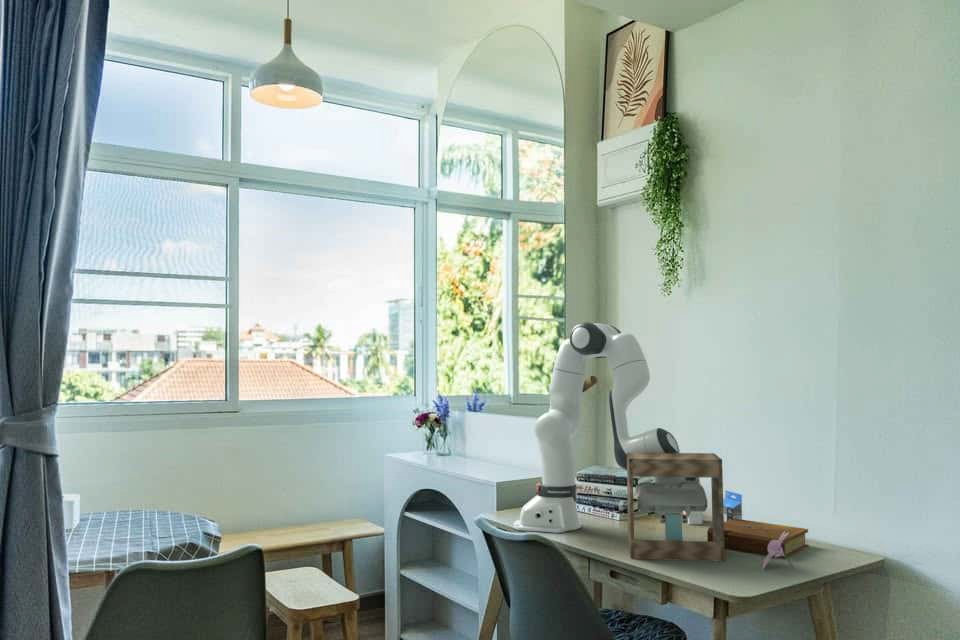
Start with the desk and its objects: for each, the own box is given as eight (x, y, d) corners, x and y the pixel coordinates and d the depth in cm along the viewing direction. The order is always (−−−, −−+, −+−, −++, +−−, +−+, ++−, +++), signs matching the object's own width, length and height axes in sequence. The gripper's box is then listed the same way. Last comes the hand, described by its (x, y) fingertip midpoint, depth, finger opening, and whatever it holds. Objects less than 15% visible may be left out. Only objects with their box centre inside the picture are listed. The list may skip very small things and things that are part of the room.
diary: (707, 548, 229) (707, 528, 229) (734, 536, 243) (734, 518, 243) (784, 560, 213) (783, 539, 214) (808, 547, 227) (808, 528, 227)
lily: (774, 562, 214) (756, 532, 214) (813, 552, 207) (794, 521, 207) (762, 586, 205) (743, 554, 205) (802, 576, 197) (783, 543, 198)
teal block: (667, 553, 220) (666, 515, 221) (665, 550, 224) (665, 512, 225) (682, 554, 220) (681, 515, 220) (681, 550, 223) (680, 512, 224)
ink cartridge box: (681, 519, 266) (681, 476, 267) (696, 519, 266) (695, 476, 267) (688, 524, 258) (687, 480, 258) (702, 524, 258) (701, 480, 258)
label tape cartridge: (716, 528, 252) (715, 490, 252) (726, 527, 253) (725, 490, 254) (733, 534, 243) (732, 495, 244) (743, 533, 245) (742, 494, 245)
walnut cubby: (630, 558, 215) (629, 458, 217) (628, 546, 229) (626, 452, 231) (724, 561, 212) (722, 459, 213) (716, 548, 226) (714, 453, 227)
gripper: (635, 476, 232) (637, 515, 222) (704, 476, 229) (710, 515, 219) (634, 488, 236) (637, 527, 226) (702, 489, 233) (708, 528, 223)
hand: (674, 521), depth 222 cm, fingers open, 5 cm apart
